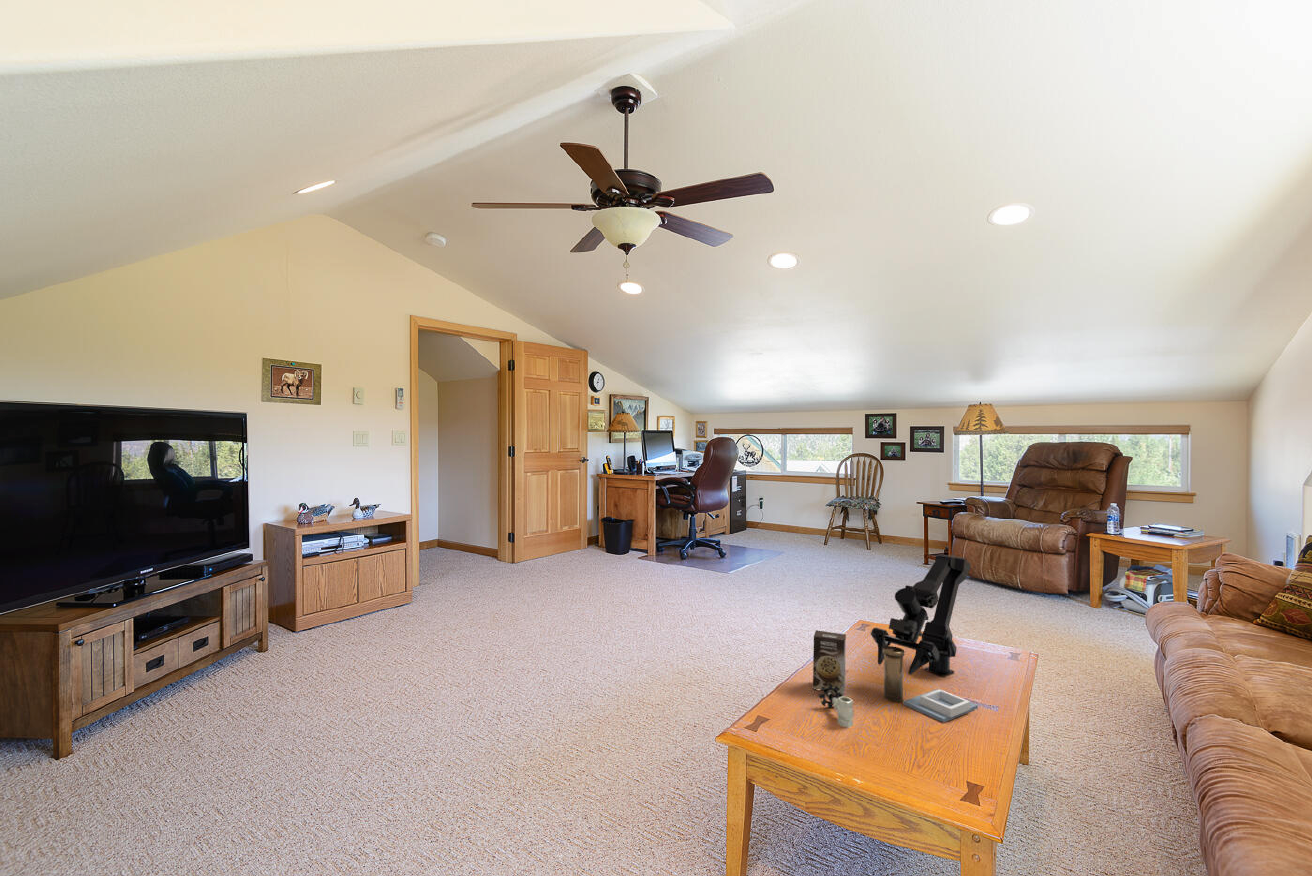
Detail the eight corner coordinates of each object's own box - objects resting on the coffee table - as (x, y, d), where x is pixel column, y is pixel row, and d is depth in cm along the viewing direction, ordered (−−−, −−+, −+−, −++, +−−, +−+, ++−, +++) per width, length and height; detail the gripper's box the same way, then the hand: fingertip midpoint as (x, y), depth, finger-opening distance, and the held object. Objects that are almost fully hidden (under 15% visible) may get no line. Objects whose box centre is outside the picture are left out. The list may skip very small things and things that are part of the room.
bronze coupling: (891, 692, 168) (891, 644, 168) (908, 699, 163) (908, 651, 163) (878, 696, 165) (878, 648, 165) (895, 704, 160) (895, 654, 160)
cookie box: (812, 690, 169) (812, 635, 169) (814, 681, 175) (815, 629, 175) (844, 695, 166) (844, 640, 166) (845, 686, 172) (846, 633, 172)
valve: (860, 727, 147) (840, 706, 159) (860, 702, 147) (840, 682, 159) (836, 729, 146) (818, 707, 158) (836, 703, 146) (818, 683, 158)
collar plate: (937, 692, 168) (937, 681, 168) (979, 709, 157) (979, 697, 157) (903, 704, 160) (903, 693, 160) (945, 723, 149) (945, 711, 149)
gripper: (873, 600, 175) (854, 644, 168) (935, 615, 161) (916, 663, 153) (886, 621, 180) (867, 664, 173) (947, 637, 166) (929, 685, 158)
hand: (893, 668), depth 164 cm, fingers open, 9 cm apart
